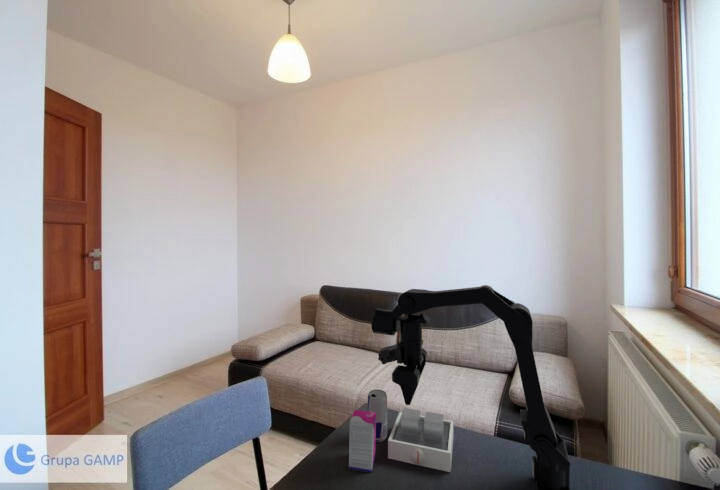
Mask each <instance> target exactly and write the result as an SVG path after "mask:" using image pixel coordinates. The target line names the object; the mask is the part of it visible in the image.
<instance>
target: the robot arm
mask: <svg viewBox="0 0 720 490" xmlns="http://www.w3.org/2000/svg"><path fill="white" fill-rule="evenodd" d="M479 304H480V305H481V304H482V305H484V307H486V308H487V309H488V310H489V311H491V313H493V314H494V315H495V316H496V317H497V318H498V319H500V320H501V321H503V323H504V326H505V329H506V331H507V334H508V336H509V339H510V341H511V343H512V345H513V346H514V350H515V356H516V359H517V366H518V370H519V375H520V379H521V385H522V390H523V394H524V400H525V405H526V409H521V408H520V411H519V412H520V422H521V426H522V428H523V438H524V439H523V440H524V442H526V441H528V445H529V447H530V449H531V450H532V451H534V455H533V456H531V475H532V479H533V481H534V482H535V485H536V488H537V490H571V489H570V485H571V484H570V482H571V481H570V479H571V478H570V477H571V475H570V474H571V469H570V468H571V460H570V458H569V454H568V449H567V446H566V442H565V440H564V438H562V437H561V435H560V434H558V432H557V431H556V430H555V425H554V423H553V421H552V419H551V415H550V413H549V411H548V409H547V407H546V405H545V402H544V399H543V398H544V397H543V394H542V387H541V384H540V379H539V374H538V369H537V364H536V359H535V355H534V350H533V349H534V348H533V337H534V336H533V334H534V333H533V319H532V314H531V312H530V309H529V308H528V307H527V306H525V305H524V304H522V303H516V302H513V301H512V300H511V299H509V298H508V297H506V296H504V295H502V294H501V293H500V292H498V291H496V290H495V289H494V288H492V286H490V285H487V284H484V285H479V286H473V287H465V288H464V287H463V288H455V289H445V290H428V289H420V288H411V289H408V290H406V291H404V292H402V293H401V294H400V295H399V297H398V298H397V304H396V306H395V307H394V308H393V309H384V308H381V307H380V308H379V307H378V308H375V309H374V314H373V317H372V321H371V331H372V333H373V334H377V335H379V334H380V335H386V336H391V337H393V336H396V334H397V333H399V332H400V333H399V334H400V336H399V342H398V343H397V344H391V345H388V346H385V347H382V348H381V349H380V350H379V351H378V354H377V355H378V358H377V359H378V361H380V362H381V365H387V364H389V363H392V362H395V361H396V364H399V365H397V366H396V367H394V369H393V371H392V372H391V381H392V382H393V383H394V384H395V385H398V386H399V387H400V389H401V393H402V397H403V401H404V404H405V405H407V406H410V405H411V404H412V400H413V399H414V396H415V394H416V391H417V388H418V386H419V383H420V378H421V376H422V374H423V371H424V368H425V366H426V364H427V360H428V352H427V350H426V349H425V348H423V345H424V340H423V325H424V324H428V323H429V322H430V321H431V318H430V317H429V316H428V315H426V313H425V311H426V310H429V309H434V308H443V307H453V306H454V307H455V306H465V305H467V306H468V305H479ZM417 313H420V314H417ZM404 314H405V315H407V316H405V315H404ZM402 364H403V365H402Z"/></svg>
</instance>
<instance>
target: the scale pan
mask: <svg viewBox="0 0 720 490" xmlns="http://www.w3.org/2000/svg"><path fill="white" fill-rule="evenodd" d="M448 436H449V424H444V433H443V440H442V442H441V441H436V440H431V439H426V438H424V420H421V428H420V432H419V436H418V437H415V436H410V435H405V434H401V421H400V424H399V426H398V429H397V432H396V434H395V437H394V440H397V441H402V442H407V443H412V444H417V445H422V446H427V447H431V448H436V449H441V450H446V451H447V446H448Z"/></svg>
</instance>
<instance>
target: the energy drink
mask: <svg viewBox="0 0 720 490" xmlns="http://www.w3.org/2000/svg"><path fill="white" fill-rule="evenodd" d="M367 411H369V412H376V443H382V442H385V440H387V438H388V396H387V392H386V391H385V390H383V389H372V390H370V391H368V394H367Z"/></svg>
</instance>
